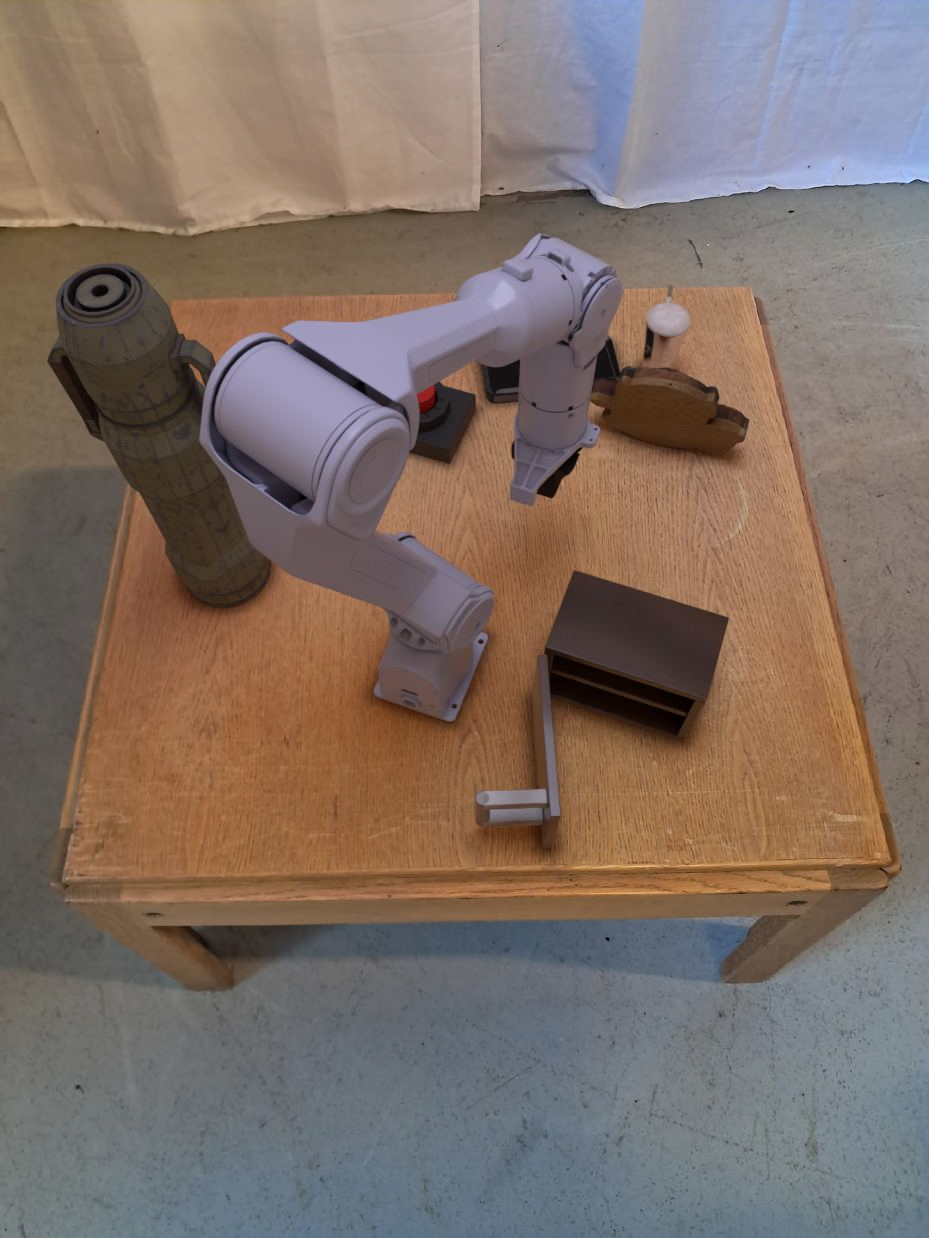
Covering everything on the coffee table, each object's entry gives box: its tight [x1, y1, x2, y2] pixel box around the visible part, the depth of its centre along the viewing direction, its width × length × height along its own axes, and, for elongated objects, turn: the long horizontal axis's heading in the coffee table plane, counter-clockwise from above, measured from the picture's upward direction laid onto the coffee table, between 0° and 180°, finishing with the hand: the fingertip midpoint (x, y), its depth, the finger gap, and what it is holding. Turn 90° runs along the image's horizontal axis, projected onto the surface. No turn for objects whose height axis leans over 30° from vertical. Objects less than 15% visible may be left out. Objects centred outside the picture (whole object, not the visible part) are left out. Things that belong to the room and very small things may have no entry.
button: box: [417, 385, 435, 414], centre depth 95 cm, size 4×4×2 cm
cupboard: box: [543, 569, 730, 743], centre depth 80 cm, size 8×14×10 cm, turn 69°
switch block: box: [409, 381, 477, 464], centre depth 97 cm, size 10×8×4 cm
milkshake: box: [641, 283, 691, 369], centre depth 98 cm, size 5×5×10 cm
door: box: [474, 654, 562, 849], centre depth 76 cm, size 6×14×9 cm, turn 2°
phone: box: [480, 335, 621, 403], centre depth 102 cm, size 8×1×15 cm
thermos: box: [46, 262, 272, 609], centre depth 75 cm, size 9×12×35 cm
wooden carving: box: [590, 365, 750, 456], centre depth 93 cm, size 16×5×10 cm, turn 76°
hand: (544, 489), depth 83 cm, fingers closed
